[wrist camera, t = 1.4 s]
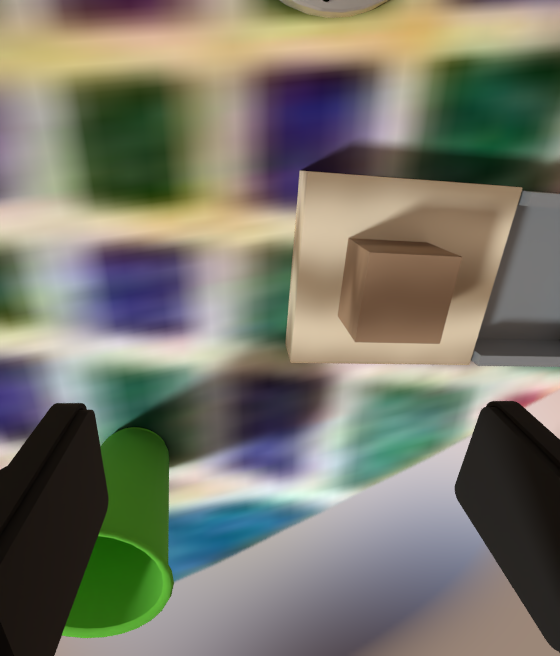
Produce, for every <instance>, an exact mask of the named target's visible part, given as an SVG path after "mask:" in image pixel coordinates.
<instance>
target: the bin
mask: <svg viewBox="0 0 560 656" xmlns="http://www.w3.org/2000/svg"><path fill="white" fill-rule="evenodd" d="M471 360H472V361H473V362H474V363H475V364H476V365H478V366H543V367H560V193H551V192H537V191H524V190H522V192H521V195H520V198H519V202H518V205H517V208H516V212H515V215H514V218H513V221H512V225H511V228H510V231H509V235H508V238H507V241H506V245H505V248H504V251H503V255H502V258H501V261H500V265H499V268H498V271H497V275H496V278H495V281H494V284H493V288H492V291H491V294H490V298H489V301H488V304H487V308H486V311H485V314H484V318H483V321H482V324H481V328H480V331H479V334H478V338H477V341H476V344H475V348H474V351H473V354H472V357H471Z"/></svg>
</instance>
